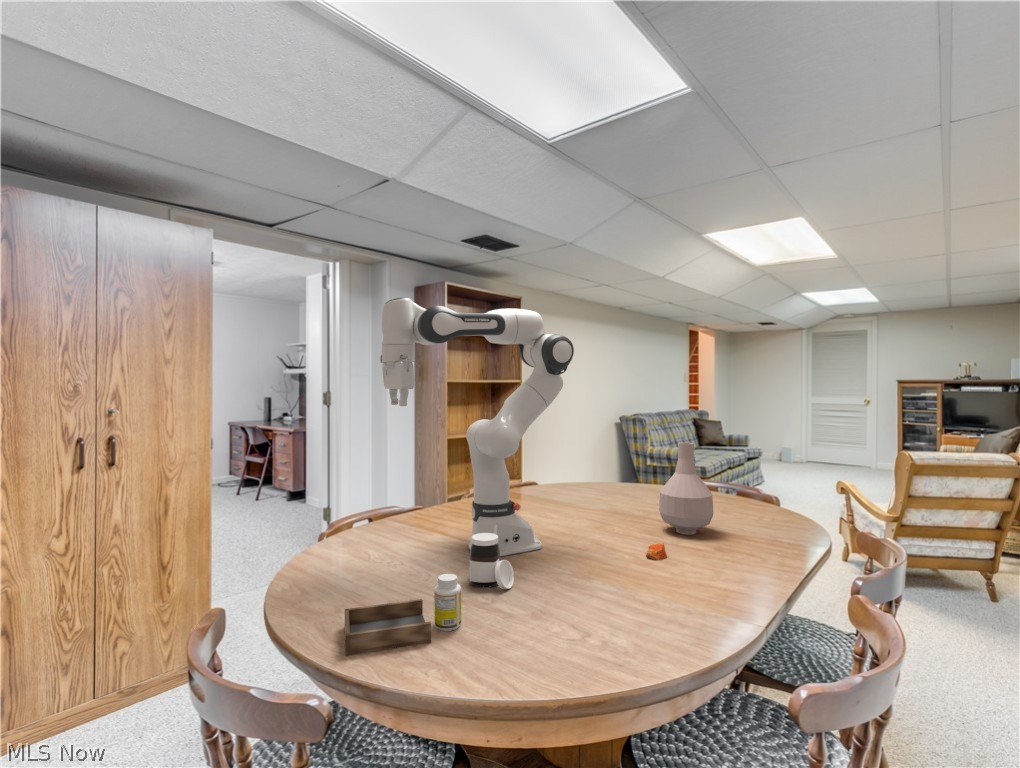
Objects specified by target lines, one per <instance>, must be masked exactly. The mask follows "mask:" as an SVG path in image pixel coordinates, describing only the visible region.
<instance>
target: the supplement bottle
mask: <svg viewBox="0 0 1020 768" xmlns="http://www.w3.org/2000/svg"><path fill="white" fill-rule="evenodd" d="M433 590H434V591H433V592H434V597H433V598H434V602H433V603H434V626H435V628H436V629H437V630H440V631H444V632H449V631H451V632H452V631H455V630H457V629H458V628H459V627H460V626H461V624H462V586H461V585H460V584H459V583H458V576H457V575H456V574H454V573H444V574H441V575H439V576H438V577H437V584H436V586H435V587H434V589H433Z"/></svg>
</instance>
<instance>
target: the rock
mask: <svg viewBox="0 0 1020 768" xmlns="http://www.w3.org/2000/svg"><path fill="white" fill-rule="evenodd" d="M645 554H646V555H645V556H646V557H647V558H649V559H651V560H656V561H662V560H664V559H665V558H667V557H668V556H667V555H668V554H667V552H666V546H665V543H664V542H661V543H652V544H649V546H648V549H647V551H646V553H645Z"/></svg>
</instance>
